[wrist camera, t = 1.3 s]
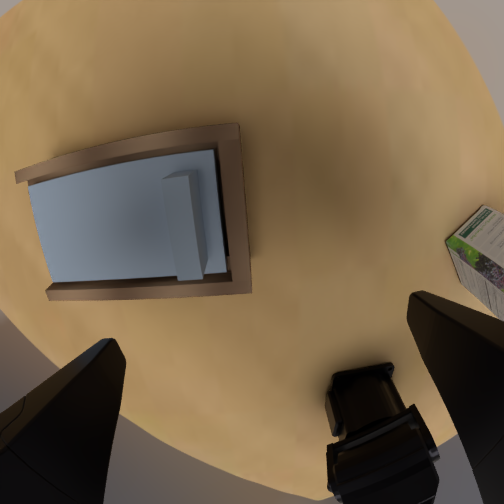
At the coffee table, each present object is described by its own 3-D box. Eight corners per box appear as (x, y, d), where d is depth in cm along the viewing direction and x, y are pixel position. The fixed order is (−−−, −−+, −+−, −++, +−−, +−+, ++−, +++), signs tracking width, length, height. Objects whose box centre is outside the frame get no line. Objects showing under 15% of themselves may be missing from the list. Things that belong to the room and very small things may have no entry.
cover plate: (215, 148, 14) (207, 151, 11) (227, 265, 17) (224, 294, 14) (35, 183, 14) (4, 195, 11) (58, 277, 17) (34, 300, 14)
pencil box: (239, 126, 17) (238, 122, 13) (250, 259, 20) (252, 292, 16) (53, 161, 17) (14, 171, 13) (77, 271, 20) (49, 300, 16)
